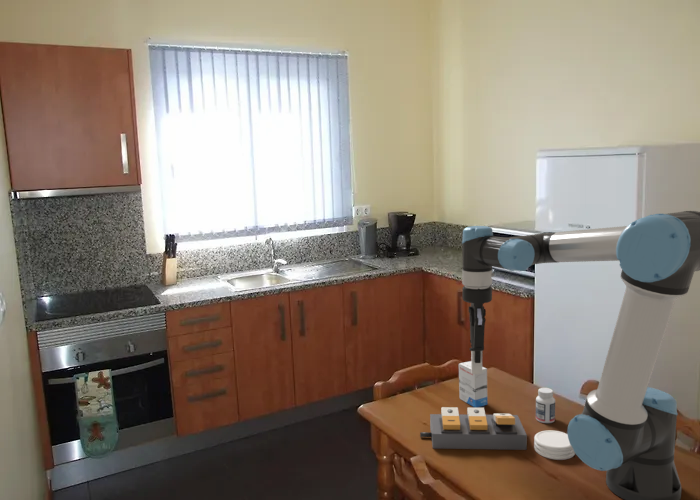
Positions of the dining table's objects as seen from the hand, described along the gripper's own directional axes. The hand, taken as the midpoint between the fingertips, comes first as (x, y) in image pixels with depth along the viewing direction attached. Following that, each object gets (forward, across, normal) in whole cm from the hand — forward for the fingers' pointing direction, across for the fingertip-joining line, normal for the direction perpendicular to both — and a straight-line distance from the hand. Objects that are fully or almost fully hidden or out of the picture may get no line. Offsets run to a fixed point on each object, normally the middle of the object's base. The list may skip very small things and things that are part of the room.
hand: (476, 372), depth 154 cm
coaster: (+19, -6, -19) cm, 27 cm away
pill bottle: (+19, +12, -21) cm, 31 cm away
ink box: (+19, +24, -2) cm, 30 cm away
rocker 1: (+12, -2, +7) cm, 14 cm away
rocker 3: (+12, -2, -7) cm, 14 cm away
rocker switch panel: (+18, 0, +1) cm, 18 cm away
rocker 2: (+12, -2, 0) cm, 12 cm away
